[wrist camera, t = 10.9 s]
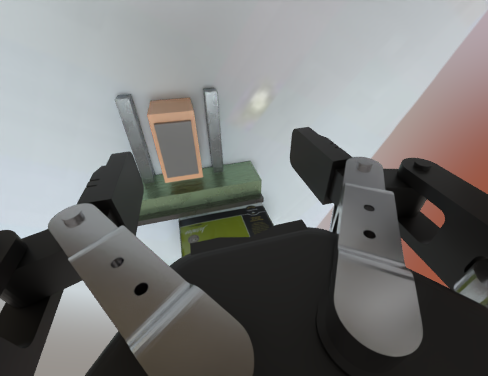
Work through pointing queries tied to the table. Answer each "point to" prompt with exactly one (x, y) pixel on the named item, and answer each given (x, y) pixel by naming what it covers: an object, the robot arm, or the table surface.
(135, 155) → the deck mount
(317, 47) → the table surface
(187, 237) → the tea box
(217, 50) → the table surface
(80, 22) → the table surface
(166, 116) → the framed panel box
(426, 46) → the table surface
